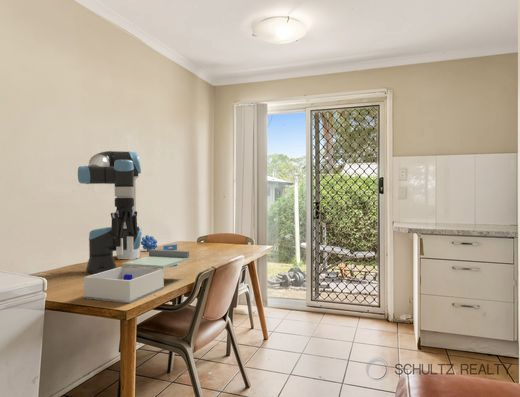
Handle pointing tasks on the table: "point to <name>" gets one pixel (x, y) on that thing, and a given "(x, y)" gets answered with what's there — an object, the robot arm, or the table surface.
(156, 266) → the lid
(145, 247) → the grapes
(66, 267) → the table surface
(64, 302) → the table surface
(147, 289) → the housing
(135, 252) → the utensil holder
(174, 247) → the label tape cartridge
